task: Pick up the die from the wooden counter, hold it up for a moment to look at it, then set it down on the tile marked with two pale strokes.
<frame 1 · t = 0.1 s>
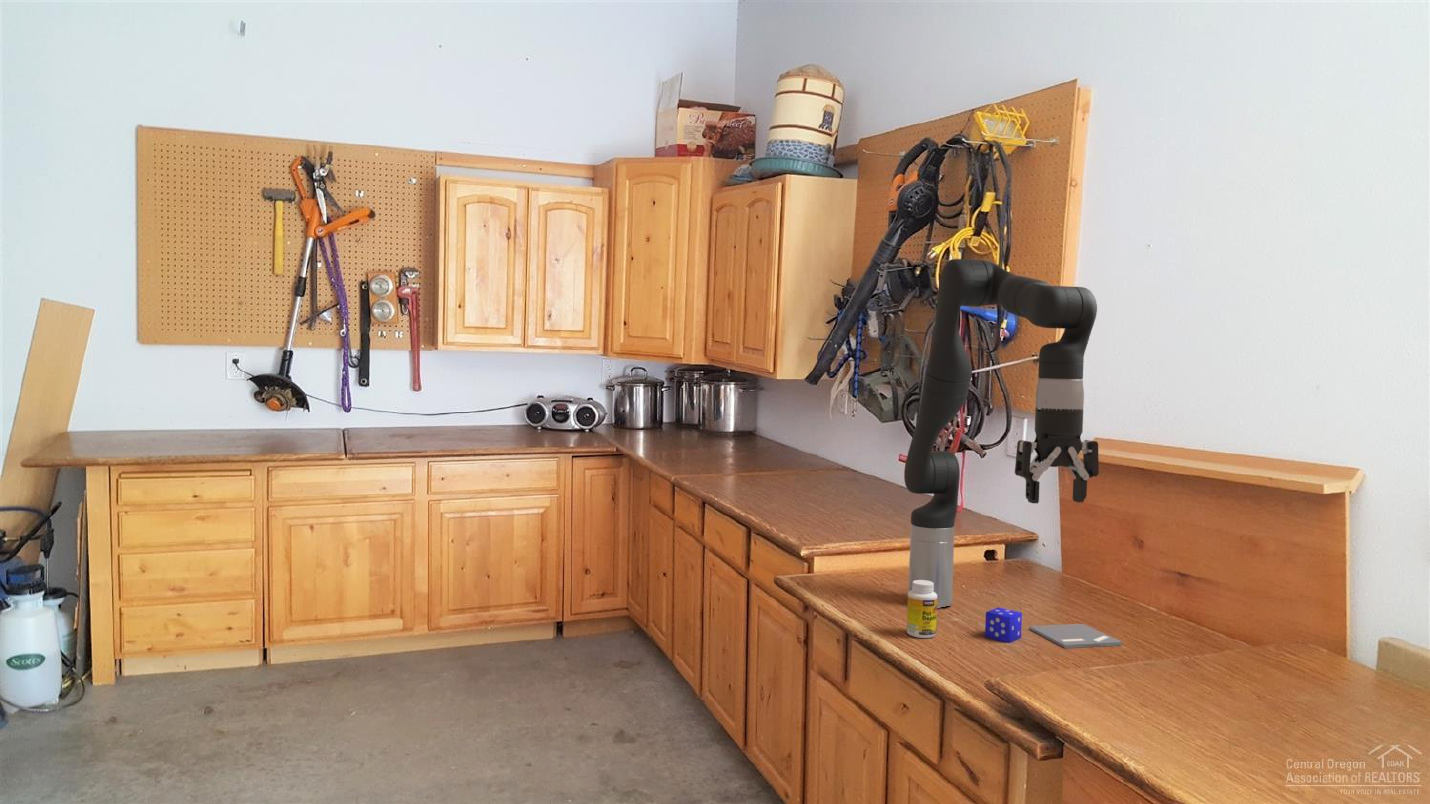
hand: (1055, 502, 152), 29 cm above the counter, tool pointing down, fingers open, 8 cm apart
code tile: (1074, 637, 174), on the counter
die: (1003, 639, 173), on the counter
supplement bottle: (921, 635, 174), on the counter
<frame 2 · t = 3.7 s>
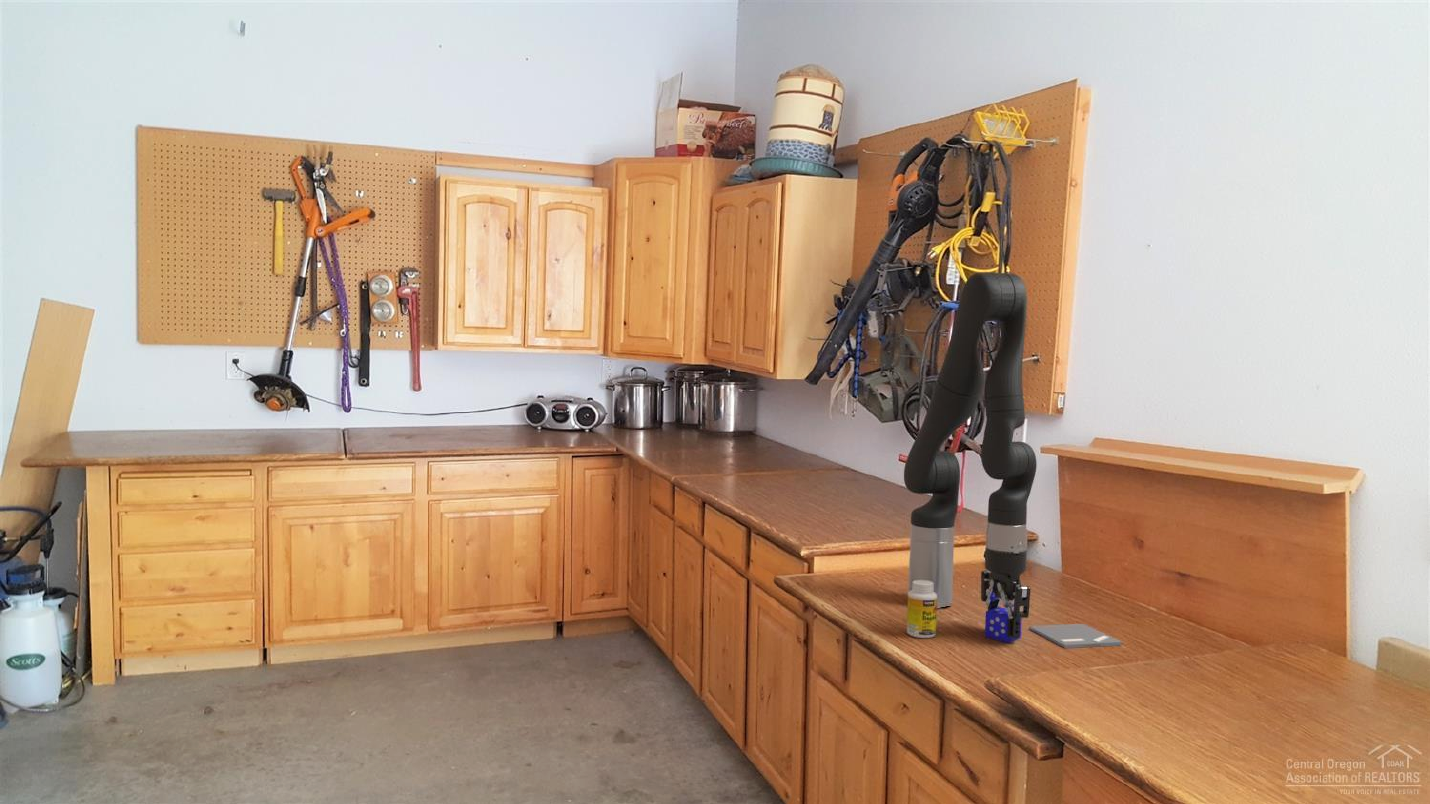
hand: (1003, 632, 173), 1 cm above the counter, tool pointing down, fingers closed on die, 7 cm apart
die: (1002, 638, 173), on the counter, touching gripper
everything else where it was.
when the fingers open (3 cm above the counter, at t = 10.2 s): die drops 1 cm, resting on code tile.
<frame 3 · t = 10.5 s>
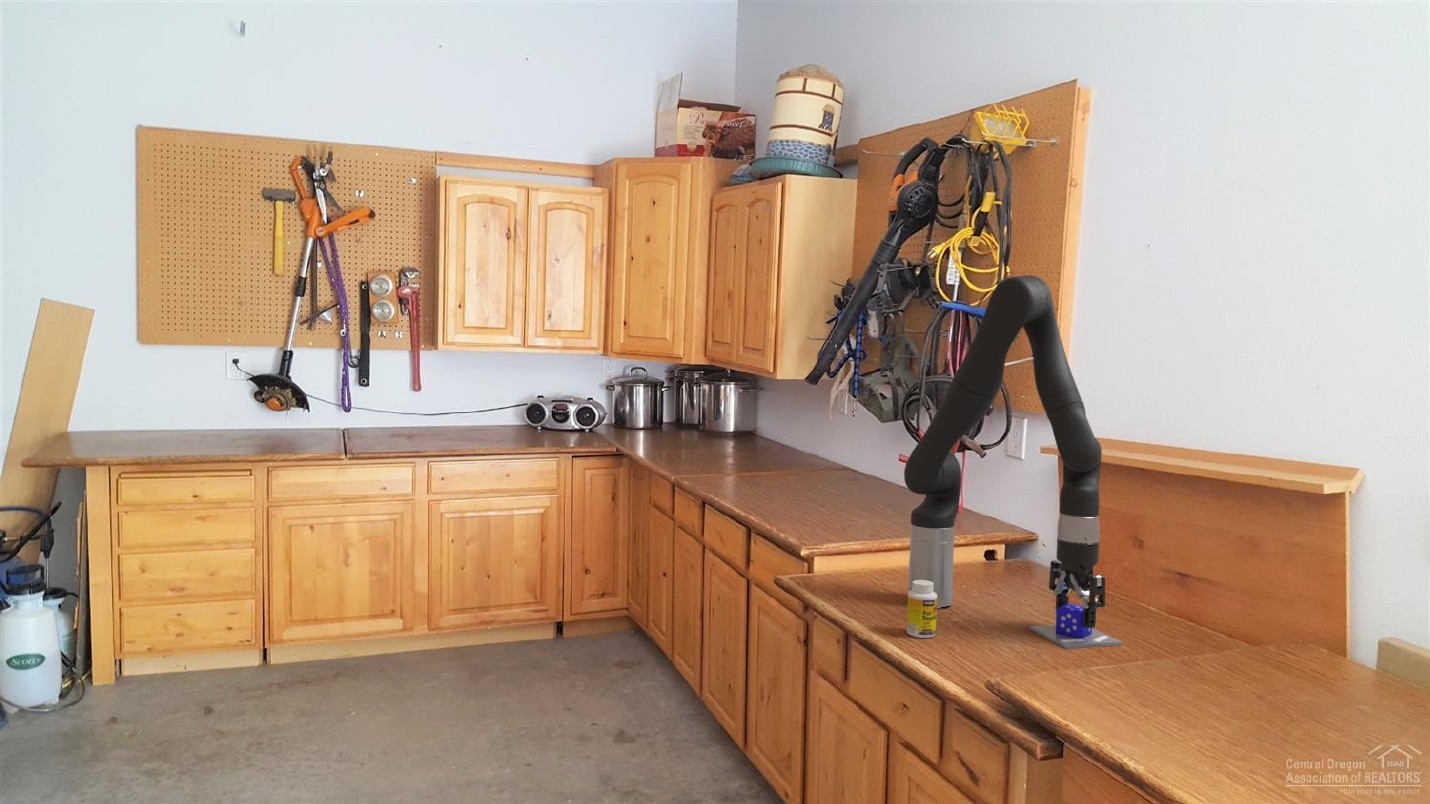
hand: (1074, 621, 174), 3 cm above the counter, tool pointing down, fingers open, 8 cm apart
die: (1073, 634, 174), resting on code tile
everything else where it was.
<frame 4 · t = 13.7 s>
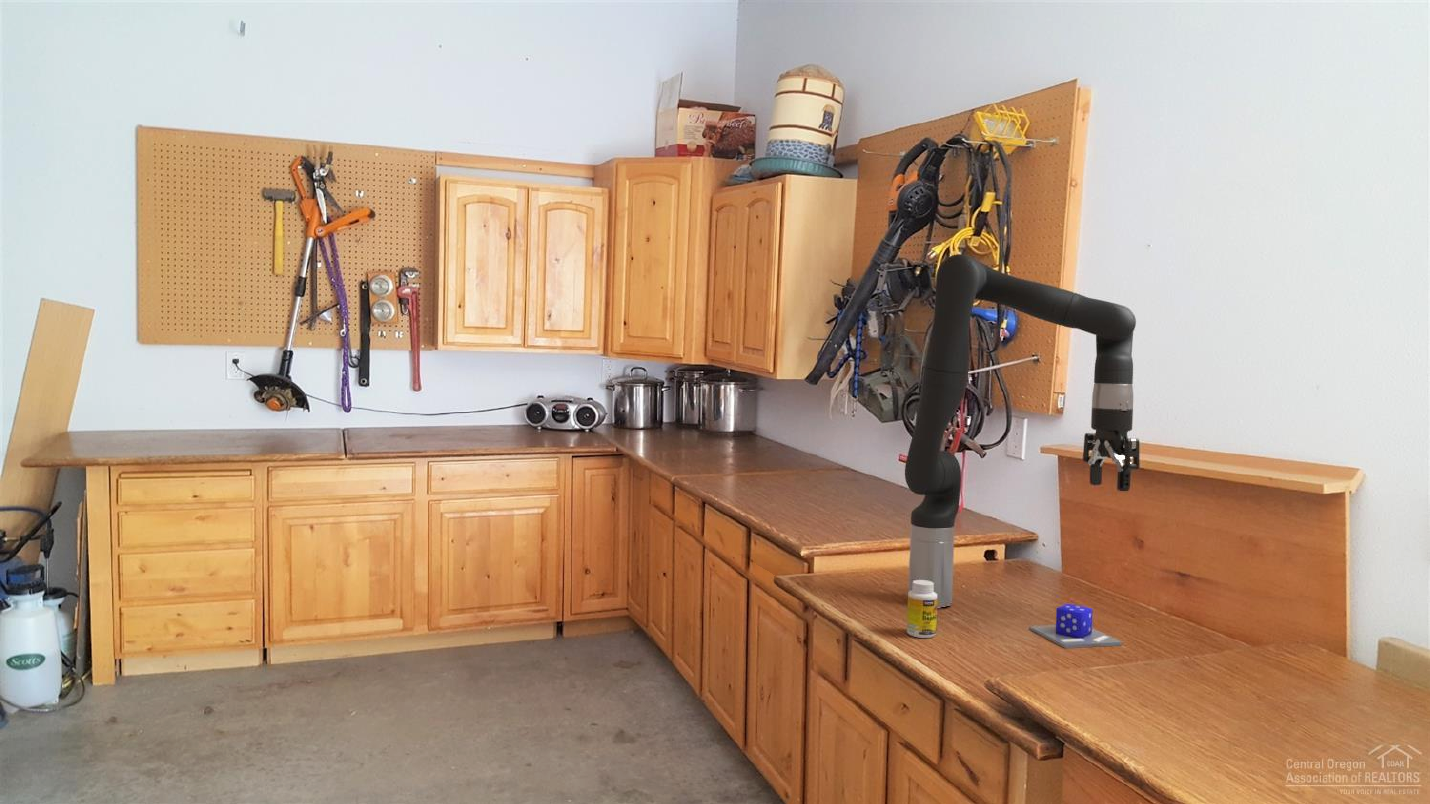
hand: (1109, 487, 180), 28 cm above the counter, tool pointing down, fingers open, 8 cm apart
nothing on the counter moved.
at the end: die inside the target area on the code tile (0.1 cm from its centre), point 0.4 cm above the code tile's base; die tilted 0°; the gripper is holding nothing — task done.
